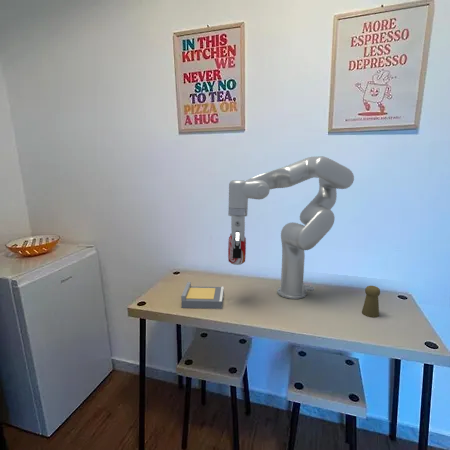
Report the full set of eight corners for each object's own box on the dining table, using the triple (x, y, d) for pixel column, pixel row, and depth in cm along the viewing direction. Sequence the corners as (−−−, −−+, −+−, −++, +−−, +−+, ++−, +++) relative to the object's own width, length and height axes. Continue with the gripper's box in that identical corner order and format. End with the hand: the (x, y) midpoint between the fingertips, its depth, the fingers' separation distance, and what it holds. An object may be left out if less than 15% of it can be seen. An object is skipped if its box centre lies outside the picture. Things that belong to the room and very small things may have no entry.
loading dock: (223, 293, 138) (223, 282, 137) (221, 308, 123) (221, 296, 122) (187, 292, 139) (187, 282, 138) (181, 307, 124) (181, 296, 123)
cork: (378, 319, 116) (381, 291, 113) (360, 315, 119) (363, 287, 117) (380, 312, 121) (382, 285, 118) (363, 308, 124) (365, 282, 122)
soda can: (245, 265, 124) (246, 236, 122) (228, 265, 124) (228, 235, 122) (245, 260, 131) (245, 232, 129) (228, 260, 131) (228, 232, 129)
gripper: (248, 215, 115) (246, 262, 118) (246, 209, 132) (245, 250, 135) (227, 215, 115) (227, 261, 118) (228, 208, 132) (228, 249, 135)
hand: (236, 255), depth 127 cm, fingers closed on soda can, 7 cm apart
